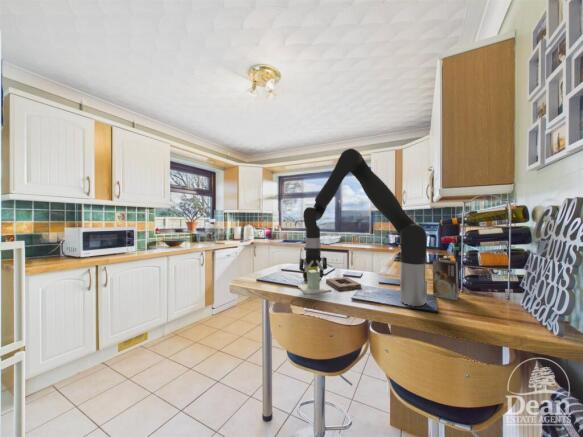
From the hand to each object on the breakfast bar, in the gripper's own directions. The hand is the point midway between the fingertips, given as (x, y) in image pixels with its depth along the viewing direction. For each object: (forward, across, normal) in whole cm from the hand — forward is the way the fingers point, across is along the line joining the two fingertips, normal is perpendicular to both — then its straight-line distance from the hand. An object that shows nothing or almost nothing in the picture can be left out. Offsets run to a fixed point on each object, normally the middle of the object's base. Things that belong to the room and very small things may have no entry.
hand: (313, 278), depth 118 cm
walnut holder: (+5, +17, 0) cm, 18 cm away
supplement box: (+5, +5, +15) cm, 17 cm away
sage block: (+4, 0, 0) cm, 4 cm away
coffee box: (+5, +52, -30) cm, 60 cm away
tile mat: (+5, 0, 0) cm, 5 cm away
